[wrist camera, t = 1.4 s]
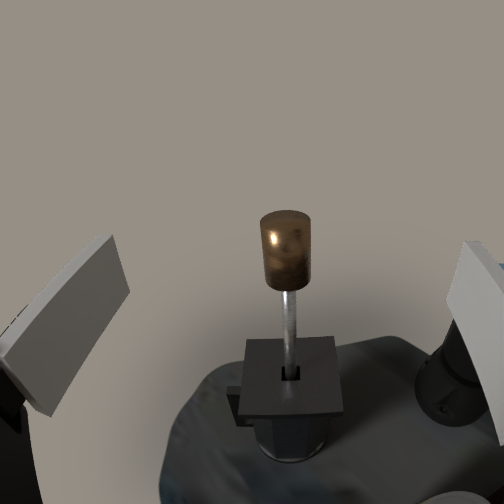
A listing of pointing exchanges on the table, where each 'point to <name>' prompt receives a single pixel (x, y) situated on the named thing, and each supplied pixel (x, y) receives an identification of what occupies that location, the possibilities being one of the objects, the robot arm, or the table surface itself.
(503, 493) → the coffee mug
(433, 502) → the reusable coffee cup
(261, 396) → the press carafe
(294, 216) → the plunger
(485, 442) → the table surface
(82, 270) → the robot arm
